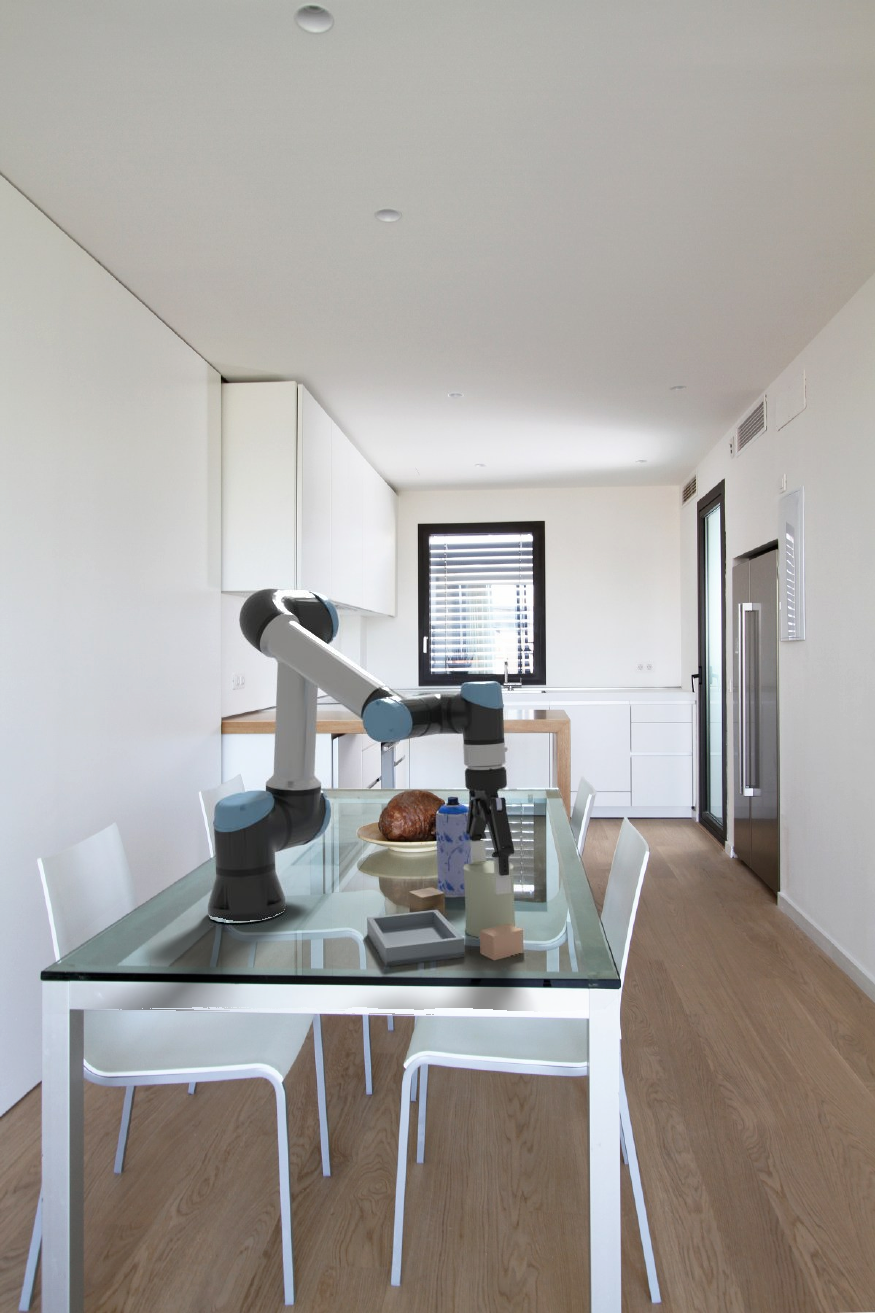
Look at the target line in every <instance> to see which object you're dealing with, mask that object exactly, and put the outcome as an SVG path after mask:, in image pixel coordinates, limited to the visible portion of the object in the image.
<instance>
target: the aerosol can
mask: <svg viewBox="0 0 875 1313" xmlns="http://www.w3.org/2000/svg"><path fill="white" fill-rule="evenodd" d="M468 809H469V807H467V806H466V805H464V804H463V803H461V802H459V797H458V796H448V797H447V803H445V804H443V805H442V806H440V808H439V809H438V810H437V811H436V815H435V830H436V833H435V834H436V835H435V836H436V855H437V856H436V861H437V862H436V863H437V864H436V865H437V890H439V891H441V892H443V893H445V898H463V897H464V898H465V882H464V869H463V867H464V866H465V865H466V864H469V863H471V844H470V841H472V840H470V839H469V835H467V834H466V827H467V818H468Z"/></svg>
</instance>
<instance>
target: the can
mask: <svg viewBox="0 0 875 1313" xmlns="http://www.w3.org/2000/svg"><path fill="white" fill-rule="evenodd" d="M463 869H464V882H465V897H464V902H465V903H464V904H465V905H464V906H465V910H464V911H465V928H464V930H465V933H466V934H468V935H469V936H471V937H475V938H479V939H480V930H483V929H488V928H492V927H496V926H501V925H505V924H511V925H513V926H515V927H516V920H515V919H516V918H515V916H516V915H515V914H516V913H515V891H514V888H515V887H514V881H515V880H514V870H515V868H514V864H512V863H510V875H511V893H505V894H497V895H496V894H495V879H494V860H486V861H478V862H472V863H469V864H466V865H465V866H464V867H463Z"/></svg>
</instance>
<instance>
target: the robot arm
mask: <svg viewBox="0 0 875 1313" xmlns="http://www.w3.org/2000/svg"><path fill="white" fill-rule="evenodd" d="M238 621H239V628H240V631H241V633H242V635H243V637H244V638H245V639H246V641H247V642H248V643H249V644H250V645H251V646H252V647H254V649H255V650H257V651H259V652H260V653H261V654H263V655H264V656H265V657H267V658H274V660H275V661H276V662H277V669H276V670H277V672H276V675H277V676H276V700H275V702H276V703H275V721H274V722H275V727H274V729H275V730H274V749H273V751H274V753H273V759H274V760H273V774H272V776H271V777H270V778H268V780H267V781H266V782H265V790H247V791H245V792H236V793H233V794H230V795H228V796H226V797H223V798H222V799H220V800H219V801H218V802H217V803H216V804H215V806H214V810H213V811H214V816H213V823H212V825H213V835H214V852H215V853H214V854H215V855H214V856H215V861H214V862H215V880H214V883H213V886H212V890H211V893H210V896H209V900H208V904H207V915H208V914H209V915H210V916H212V917H218V918H223V919H226V920H233V921H250V920H262V919H265V918H268V917H273V916H275V915H276V914H279V913H281V912H283V911H284V909H286V908H287V907H286V906H287V905H286V896H285V893H284V891H283V889H282V885H281V882H280V879H279V877H278V874H277V870H276V853H278V852H281V851H285V850H288V849H291V848H294V847H301V846H304V845H307V844H310V843H311V842H313V841H315V840H318V839H319V838H320V837H321V836H322V835H323V834H324V833H325V832H326V831H327V828H328V827H329V825H330V822H331V818H332V806H331V803H330V800H329V799H328V796H327V794H326V792H324V790H322V782H321V781H320V780H319V779H318V778H317V777H316V775H315V770H316V769H315V767H316V748H317V747H316V745H317V744H316V743H317V742H316V741H317V719H318V718H317V716H318V695H319V694H318V693H319V692H318V691H319V689H320V690H321V691H322V692H324V693H325V694H326V695H328V696H329V697H330V698H332V699H333V700H335V701H336V702H338V703H339V704H340V705H341V706H343V707H344V708H345V709H347V710H348V711H350V712H351V713H352V714H354V715H355V716H357V717H358V718H359V719H360V720H361V721H362V726H363V729H364V730H365V731H366V734H367V735H368V737H369V738H370V739H371V740H374V742H377V743H395V742H400V741H404V740H410V739H415V738H421V737H427V736H432V735H440V734H441V735H442V734H443V735H445V734H446V735H447V734H448V735H449V734H451V735H452V734H457V735H459V734H461V735H462V738H463V740H462V741H463V749H462V750H463V764H464V766H465V767H467V768H465V770H464V780H465V781H464V783H465V788H466V789H467V790H468V796H469V798H468V799H469V802H468V818H467V827H466V834H467V835H469V839H470V840H472V841H470V844H471V863H472V862H478V861H487V848H486V840H485V839H487V835H486V833H485V831H486V828H488V832H489V836H490V839H491V843H492V847H493V850H494V851H492V854H491V857H492V858H493V861H494V879H495V894H496V895H497V894H505V893H511V875H510V864H511V859H510V858H511V855H514V854H515V848H514V842H513V837H512V833H511V831H512V830H511V828H510V827H511V826H510V822H509V816H508V813H507V801H506V798H505V797H504V796H503V797H499V791H500V790H503V789H505V788H506V787H507V786H508V783H507V782H508V779H507V778H508V777H507V768H506V767H505V766H503V765H505V764H506V763H507V762H506V752H507V751H508V747H507V746H505V727H504V726H505V725H504V724H505V721H504V720H505V719H504V707H505V704H504V700H503V690H502V685H501V684H500V682H498V681H495V680H493V681H492V680H491V681H470V682H469V681H468V682H464V683H462V684H461V685H460V692H456V693H430V692H426V693H418V694H412V695H407V696H403V695H401V694H399V693H398V692H396V691H395V690H394V689H392V688H390V687H389V686H387V684H384V682H382V681H381V680H380V679H378V678H376V677H375V676H373V675H372V674H370V673H369V672H368V671H366V670H365V669H363V668H362V667H360V666H359V665H358V664H356V663H355V662H353V661H352V660H350V659H349V658H348V657H346V656H345V655H343V654H342V653H340V652H339V651H338V650H336V649H334V648H333V647H331V646H330V645H329V644H330V643H332V642H333V641H334V638H336V637H337V635H338V631H339V626H340V625H339V624H340V621H339V614H338V612H337V609H336V606H335V605H334V604H333V603H332V602H331V600H330V598H328V597H327V596H325V595H324V594H322V593H319V592H315V591H311V590H306V589H305V590H299V589H298V590H297V589H296V590H295V589H279V588H265V589H261V590H258V591H256V592H254V593H252V594H251V595H250V596H249V597H248V598H247V599H245V601H244V603H243V604H242V606H241V609H240V612H239V619H238ZM286 910H287V909H286Z"/></svg>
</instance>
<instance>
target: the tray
mask: <svg viewBox="0 0 875 1313" xmlns="http://www.w3.org/2000/svg"><path fill="white" fill-rule="evenodd" d="M366 924H367V925H366V926H367V928H366V929H367V936H368V937H369V940H370V941H371V943H372V942H373V943H372V945H373V946H374V945H375V946H374V948H375V947H376V948H375V950H376V949H377V950H378V951H377V950H376V951H377V953H378V952H379V953H378V955H379V957H380V958H381V960H382V961H383V963H384V965H385V967H387V968H388V967H394V966H402V965H410V964H418V963H419V964H420V963H426V962H434V961H443V960H449V959H451V960H452V959H456V958H464V957H466V956H465V939H464V937H463V935H461V933H459V931H458V930H457V929H456V928H455V927H454V925H452V923H450V921H448V919H446V916H445V917H444V916H443V915H442V914H441V913H440V912H439V911H438V910H430V911H421V912H412V913H410V912H404V913H395V914H387V915H378V916H369V917H366Z"/></svg>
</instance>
